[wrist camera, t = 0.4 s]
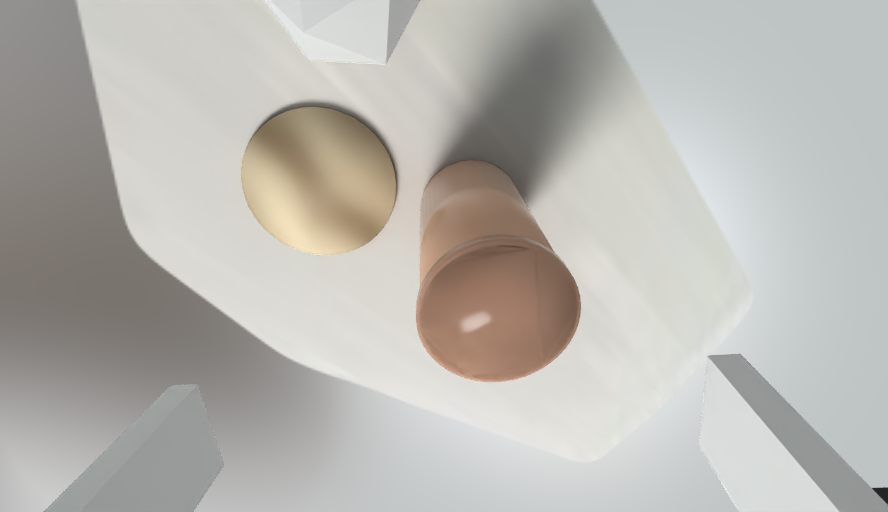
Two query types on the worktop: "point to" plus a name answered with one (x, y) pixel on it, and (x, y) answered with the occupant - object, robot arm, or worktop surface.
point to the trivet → (318, 181)
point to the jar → (489, 278)
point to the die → (345, 27)
